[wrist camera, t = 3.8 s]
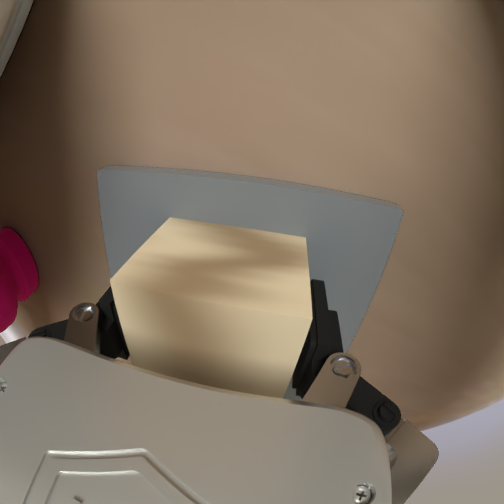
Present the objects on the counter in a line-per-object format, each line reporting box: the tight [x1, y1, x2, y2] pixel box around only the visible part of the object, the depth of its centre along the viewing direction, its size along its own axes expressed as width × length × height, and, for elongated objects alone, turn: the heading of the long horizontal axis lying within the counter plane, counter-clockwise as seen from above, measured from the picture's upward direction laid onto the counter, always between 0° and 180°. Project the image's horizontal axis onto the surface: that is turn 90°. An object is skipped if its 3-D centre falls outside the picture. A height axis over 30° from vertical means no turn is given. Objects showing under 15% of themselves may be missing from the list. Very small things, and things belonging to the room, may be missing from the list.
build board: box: [97, 165, 404, 401], centre depth 17 cm, size 14×25×1 cm, turn 174°
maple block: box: [110, 217, 313, 399], centre depth 11 cm, size 6×6×5 cm
